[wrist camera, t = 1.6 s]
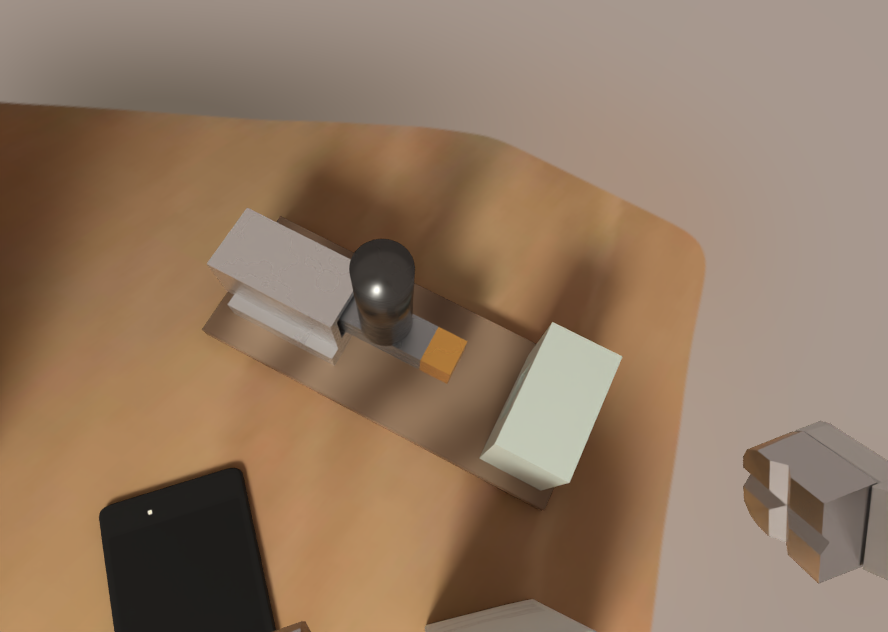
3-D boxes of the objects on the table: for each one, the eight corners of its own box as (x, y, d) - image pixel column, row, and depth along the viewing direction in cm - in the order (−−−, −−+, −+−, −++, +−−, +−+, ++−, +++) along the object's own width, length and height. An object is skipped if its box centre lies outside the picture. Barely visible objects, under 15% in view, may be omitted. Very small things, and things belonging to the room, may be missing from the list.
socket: (479, 458, 40) (494, 443, 33) (528, 354, 42) (552, 321, 36) (540, 490, 39) (569, 483, 33) (586, 384, 42) (622, 356, 35)
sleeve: (227, 309, 42) (198, 274, 36) (273, 241, 44) (254, 197, 38) (334, 366, 41) (323, 339, 35) (377, 294, 43) (373, 257, 37)
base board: (206, 333, 42) (201, 329, 42) (283, 222, 46) (280, 216, 45) (541, 510, 40) (544, 510, 39) (597, 379, 43) (601, 376, 42)
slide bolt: (241, 285, 40) (189, 205, 30) (268, 246, 41) (226, 157, 31) (444, 389, 38) (458, 342, 29) (466, 346, 39) (487, 287, 30)
